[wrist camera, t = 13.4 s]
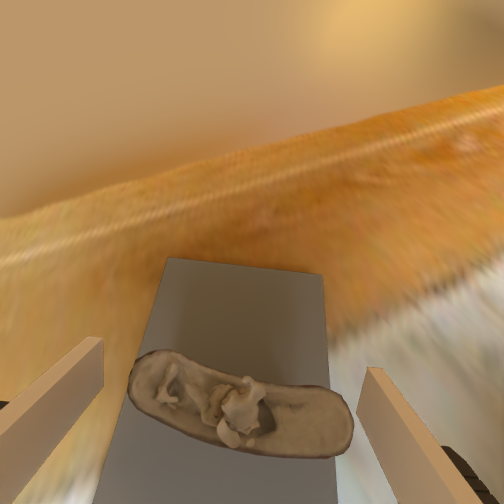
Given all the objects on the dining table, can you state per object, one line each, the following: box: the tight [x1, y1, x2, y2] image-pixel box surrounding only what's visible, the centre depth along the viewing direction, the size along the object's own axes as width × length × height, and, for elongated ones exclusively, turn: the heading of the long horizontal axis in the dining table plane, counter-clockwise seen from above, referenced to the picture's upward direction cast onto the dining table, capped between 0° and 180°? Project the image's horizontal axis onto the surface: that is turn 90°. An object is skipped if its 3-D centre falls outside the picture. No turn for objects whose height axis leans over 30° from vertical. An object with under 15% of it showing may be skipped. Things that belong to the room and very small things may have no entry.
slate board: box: [92, 257, 338, 504], centre depth 18 cm, size 14×22×2 cm, turn 175°
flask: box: [127, 349, 354, 459], centre depth 13 cm, size 9×3×11 cm, turn 78°
